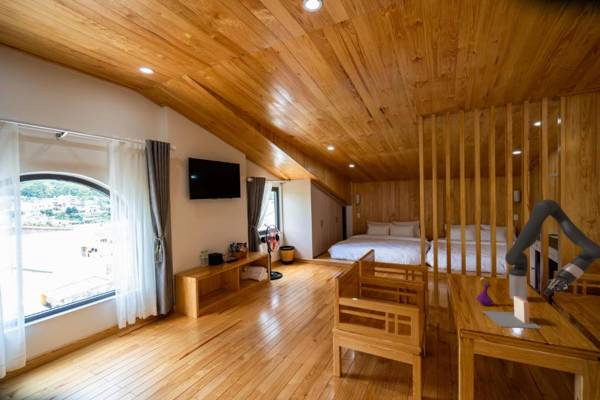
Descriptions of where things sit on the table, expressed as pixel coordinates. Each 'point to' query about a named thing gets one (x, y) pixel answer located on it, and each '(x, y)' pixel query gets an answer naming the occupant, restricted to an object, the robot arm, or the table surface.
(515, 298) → the tile
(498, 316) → the mat
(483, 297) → the perfume bottle
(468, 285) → the table surface
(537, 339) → the table surface
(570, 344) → the table surface
